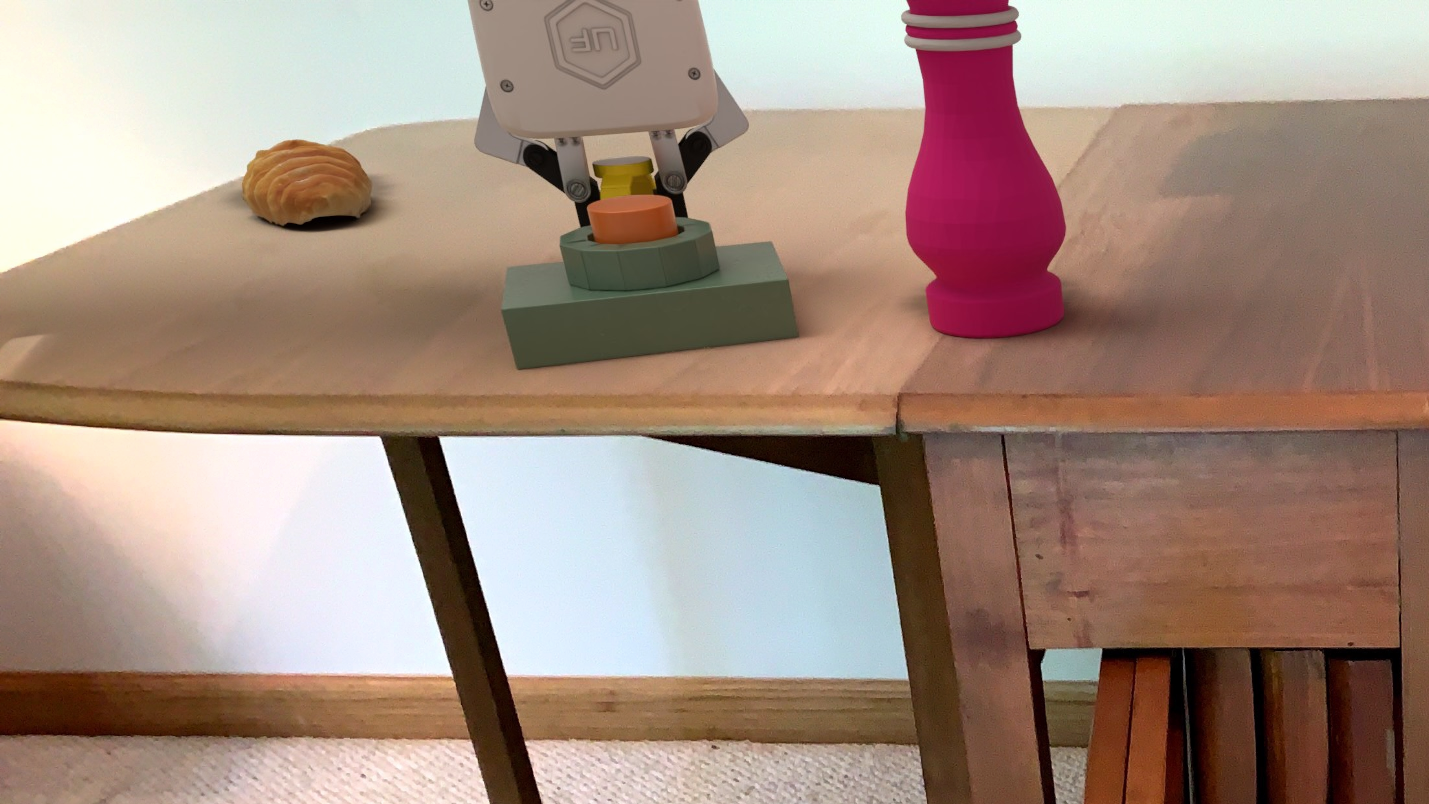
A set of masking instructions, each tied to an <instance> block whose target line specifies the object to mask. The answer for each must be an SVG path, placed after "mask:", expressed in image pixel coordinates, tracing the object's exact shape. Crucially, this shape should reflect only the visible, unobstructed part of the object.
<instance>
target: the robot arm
mask: <svg viewBox="0 0 1429 804" xmlns="http://www.w3.org/2000/svg"><path fill="white" fill-rule="evenodd" d="M467 4H468V5H467V6H468V9H469V10H468V11H469V14H470V15H469V16H470V21H471V25H472V30H473V34H474V39H475V45H476V48H477V52H478V57H479V62H480V66H481V71H482V76H483V79H484V84H485V87H484V92H483V97H482V101H481V106H480V111H479V114H478V120H477V125H476V129H475V133H474V139H473V140H474V143H473V144H474V146H475V148H476V150H478V151H479V152H480V153H482V154H484V155H487V156H490V157H493V158H497V159H500V160H503V161H505V162H509V163H512V164H514V165H520V166H522V167H525V168H528V169H529V170H531V171H532V172H533V173H535V174H536V175H538V176H539V177H541V178H542V179H543V180H545V181H546V182H548V183H549V184H551V185H552V186H553V187H555V188H556V189H558V190H559V191H560V192H561V193H563V194H565V196H566V198H567V199H569V200H570V201H571V202H573V203H574V207H575V212H576V215H577V220H578V224H579V228H580V227H585V226H590V225H591V223H590V219H589V215H588V211H587V206H588V205H589V204H591V203H593V202H596V201H599V200H601V198H600V190H601V189H600V187H599V183H598V180H596V179H595V178H594V177H592V176H591V174H590V169H589V164H588V158H587V153H586V148H585V142H584V137H596V136H609V135H621V134H622V135H623V134H634V133H635V134H636V133H646V132H648V136H649V139H650V143H651V148H652V151H653V155H654V159H655V162H656V167H657V172H656V173H655V174H654V176H653V178H654V181H655V184H656V189H652V190H653V195H659V196H665V197H668V198H670V199H671V200H672V204H673V209H674V214H675V217H686V218H689V213H688V211H687V205H686V200H685V195H684V192H685V191H686V190H687V188H688V185H689V183H690V182H691V180H692V179H693V178H694V176H695V175H696V174H697V172H698V171H699V169H700V168H701V167H702V166H703V164H704V163H705V161H706V160H707V159H708V157H709V156H710V155H711V153H712V154H713V152H715V151H717V150H718V149H722V147H724V146H726V145H727V144H729V143H731V142H732V141H734V140H736V139H738V138H740V137H741V136H743V135H744V134H745V133H746V132H748V130H749V127H750V122H749V120H748V118H747V116H746V114H745V113H744V111H743V110H742V108H741V106H740V105H739V104H738V102H737V100H736V99H735V98H734V97H733V94H732V93H731V92H730V90H729V89H728V88H727V86H726V85H725V83H724V81H723V80H722V79H721V76H720V75H719V73H718V72H717V70H715V69H716V68H715V67H714V63H713V58H712V54H711V49H710V45H709V39H708V35H707V31H706V27H705V23H704V19H703V15H702V11H701V6H700V3H699V0H467ZM688 128H690V129H688ZM680 129H688V130H687V131H686V132H685V134H684V135H683V136H682V138H681V139H680V140H679V142H678V139H677V134H676V131H675V130H680ZM545 139H546V140H548V139H551V140H552V139H553V140H554V146H555V149H553V147H550V146H549V145H548V144H546V143H545V142H543V141H542V140H545Z"/></svg>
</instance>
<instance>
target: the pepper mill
mask: <svg viewBox="0 0 1429 804" xmlns="http://www.w3.org/2000/svg"><path fill="white" fill-rule="evenodd" d="M905 1H906V4H907V6H908V8H909V9H906V10H904V11H903V12H902V13H901V14H900V20H901V22H902V23H903V24H904V25H905V28H904V31H905V33H906V34H905V36H904V38H903V41H904V44H905V45H906V46H907V47H909V48H910V49H914V50H915V53H916V58H917V62H918V66H919V70H920V74H921V78H922V86H923V100H924V120H923V133H922V137H921V141H920V145H919V150H918V153H917V157H916V160H915V162H914V165H913V168H912V172H911V176H910V179H909V183H908V188H907V195H906V203H905V213H904V215H905V216H904V217H905V232H906V233H905V235H906V239H907V242H908V245H909V247H910V248H911V250H912V252H913V253H914V255H916V257H917V258H918V259H919V260H920V261H921V262H922V263H923V264H924V265H925V266H926V267H927V268H928V269H929V270H930V271H931V272H933V274H934V275H935V279H933V280H931V281H930V282H929V283H928V284H927V286H925V297H926V303H927V309H928V310H927V311H928V316H929V317H928V318H929V324H930V325H931V326H932V328H934V329H935V330H936V331H938V332H940V333H942V334H943V335H949V336H953V337H960V338H968V339H995V338H996V339H997V338H1009V337H1015V336H1023V335H1028V334H1033V333H1036V332H1041V331H1043V330H1046V329H1048V328H1049V329H1050V328H1051V327H1054V326H1055V325H1057V324H1059V322H1060V321H1062V319H1063V318H1064V315H1065V307H1064V306H1065V304H1064V295H1063V288H1062V287H1063V286H1062V280H1061V279H1060V277H1059V276H1057V274H1055V273H1054V272H1052V271H1049V270H1048V268H1049V266H1050V264H1051V263H1052V261H1053V260H1054V258H1055V257H1056V255H1057V254H1058V253H1059V251H1060V249H1061V248H1062V245H1063V243H1064V240H1065V238H1066V235H1067V224H1066V219H1065V214H1064V207H1063V204H1062V199H1061V196H1060V195H1059V192H1058V189H1057V187H1056V183H1055V181H1054V179H1053V176H1052V175H1051V174H1050V172H1049V170H1048V168H1047V166H1046V165H1045V163H1044V161H1043V159H1042V157H1041V156H1040V154H1039V152H1038V151H1037V148H1036V146H1035V145H1034V143H1033V141H1032V139H1031V137H1030V135H1029V133H1028V130H1027V128H1026V126H1025V123H1024V119H1023V116H1022V113H1021V110H1020V107H1019V104H1018V98H1017V93H1016V86H1015V79H1014V45H1016V44H1017V43H1019V42H1020V41H1021V40H1022V33H1021V31H1020V30H1018V27H1019V25H1018V22H1017V19H1018V18H1019V17H1020V12H1019V10H1018V8H1017V7H1015V6H1012V5H1009V3H1010V2H1009V1H1010V0H905Z"/></svg>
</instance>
